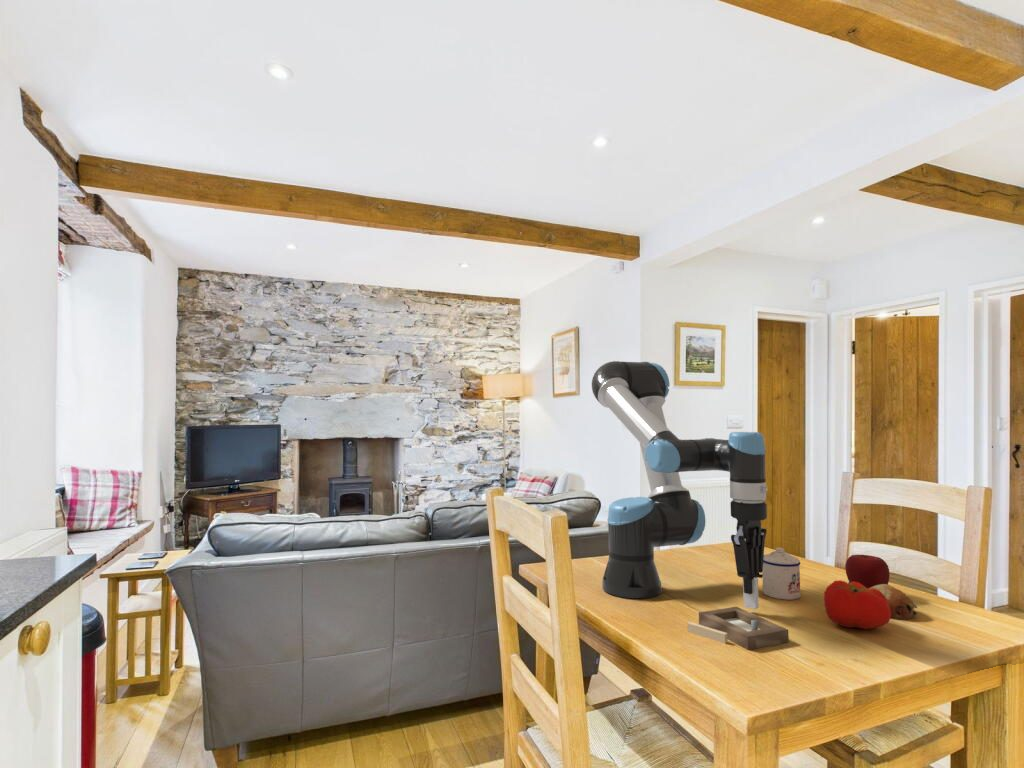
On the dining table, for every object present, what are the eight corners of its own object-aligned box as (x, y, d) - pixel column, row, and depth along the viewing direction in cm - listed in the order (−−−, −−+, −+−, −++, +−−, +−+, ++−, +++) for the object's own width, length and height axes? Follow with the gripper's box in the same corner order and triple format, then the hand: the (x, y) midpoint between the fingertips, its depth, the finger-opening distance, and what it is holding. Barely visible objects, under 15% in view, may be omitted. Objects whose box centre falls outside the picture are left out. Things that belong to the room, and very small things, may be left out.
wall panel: (661, 634, 116) (661, 609, 117) (701, 615, 127) (700, 593, 127) (768, 669, 100) (767, 641, 100) (803, 644, 111) (802, 619, 111)
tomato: (887, 643, 111) (885, 599, 112) (817, 628, 119) (815, 586, 120) (896, 624, 122) (894, 583, 122) (831, 611, 130) (829, 572, 130)
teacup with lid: (796, 603, 135) (795, 554, 136) (757, 595, 141) (755, 548, 142) (808, 591, 144) (806, 545, 145) (770, 584, 150) (769, 540, 151)
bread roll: (887, 620, 134) (871, 585, 137) (930, 613, 126) (911, 577, 129) (863, 627, 129) (847, 591, 133) (906, 621, 121) (888, 583, 125)
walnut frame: (699, 623, 118) (698, 612, 118) (736, 617, 122) (736, 606, 122) (747, 649, 105) (747, 636, 105) (788, 642, 108) (788, 629, 109)
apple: (866, 587, 148) (865, 548, 148) (900, 598, 138) (898, 557, 139) (837, 590, 145) (836, 551, 146) (869, 602, 136) (868, 560, 136)
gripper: (751, 505, 119) (754, 619, 117) (777, 499, 127) (780, 604, 126) (718, 501, 124) (720, 609, 123) (745, 495, 133) (747, 596, 132)
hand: (751, 607), depth 124 cm, fingers closed
